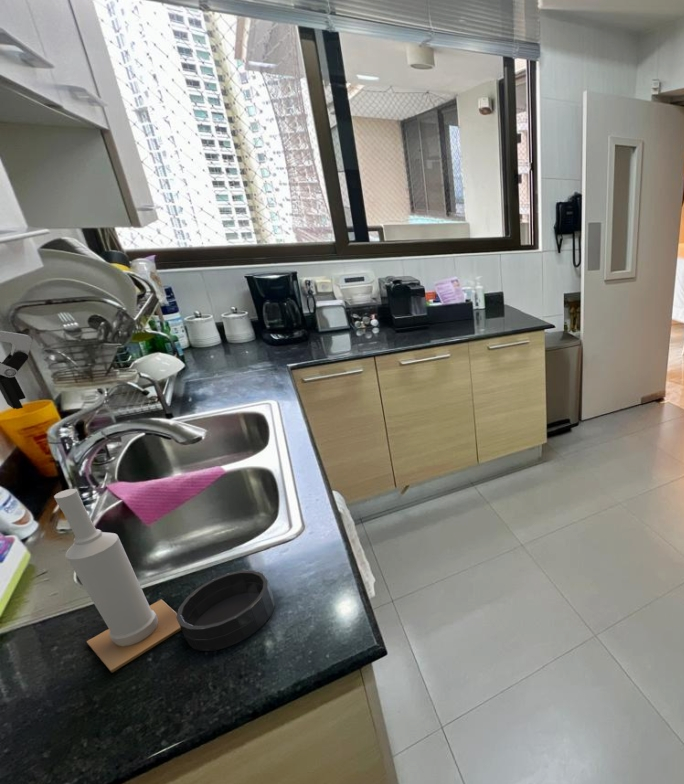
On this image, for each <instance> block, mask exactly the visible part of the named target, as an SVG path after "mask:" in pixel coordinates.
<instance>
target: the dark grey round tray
mask: <svg viewBox="0 0 684 784" xmlns="http://www.w3.org/2000/svg"><path fill="white" fill-rule="evenodd" d="M275 605H276V604H275V596H274V594H273V590H272V588H271V586H270V582H269V579H268V578H267V577H266V575H265V573H263V572H260V571H257V570H254V569H252V570H249V569H248V570H247V569H242V570H237V571H232V572H228V573H225V574H223V575H220V576H217V577H215V578H213V579H210V580H209V581H207V582H205V583H204V584H201V586H199V587H197V588H196V589H195V590H194V591H193V592H191V593H190V594H189V595H187V597H186V598H185V599H184V600H183V601H182V603H181V604H180V605H179V607H178V610H177V612H176V613H177V616H176V618H177V621H178V623H179V625H180V627H181V629H182V630H181V631H182V634H183V636H184V638H185V640H186V642H187V645H188V646H189V647H191V649H193V650H196V651H199V652H213V651H218V650H224V649H226V648H229V647H232V646H235V645H236V644H238V643H240V642H242V641H245V640H246V639H248V638H249V637H251V636H253V634H255V633H257V632H258V630H260V629H261V628H262V627H263V626H264V625H265V624H266V623H267V622H268V620H269V619H270V617H272V614H273V612H274V609H275Z"/></svg>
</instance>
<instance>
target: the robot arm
mask: <svg viewBox="0 0 684 784" xmlns="http://www.w3.org/2000/svg"><path fill="white" fill-rule="evenodd" d="M0 343H7V344H11V351H10V352H9V353H8V354H7V356H6V357H5V359H3V361H0V393H1V395H2V397H3V398H4V401H5V402H6V405H8V407H10V408H12V409H13V410H15V409H16V410H20V409H23V408H24V407H23V404H22V402H21V401H20V400H25V399H27V397H26V395H25V393H24V390H23V389H22V387H21V385H20V383H19V382H18V378H17V377H16V376H17V375H18V373H19V370H20V369H21V368H22V367H23V366H24V364H25V363H26V362H27V361H28V360H29V353H30V352H31V347H32V344H33V338H32V337H31V336H29V335H27V334H24V333H17V332H11V331H6V330H0Z"/></svg>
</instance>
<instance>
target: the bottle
mask: <svg viewBox="0 0 684 784" xmlns="http://www.w3.org/2000/svg"><path fill="white" fill-rule="evenodd" d="M53 498H54V500H55V501H56V503H57V505H58V507H59V509H60V511H61V512H62V513H63V516H64V517H65V520H66V521H67V523H68V525H69V527H70V529H71V531H72V533H73V534H74V536H75V537H74V538H73V540H72V541H73V543H72V544H71V546H70V547H69V548H68V549H67V551H66V552H65V554H64V556H65V558H66V559H67V561H68V562H69V564H70V566H71V568H72V569H73V571H74V573H75V575H76V577H77V578H78V579H79V581H80V583H81V584H82V586H83V588H84V590H85V591H86V593H87V595H88V596H89V597H90V600H91V601H92V603H93V604H94V607H95V608H96V610H97V611H98V613H99V614H100V617H101V618H102V620H103V621H104V623H105V625H106V626H107V628H108V629H109V630H110V633H109V635H110V637H111V639H112V640H113V642H114V643H115V644H117V645H119V646H129V645H132V644H135V643H138V642H140V641H142V640H143V639H145V638H147V637H148V636H149V635H150V634H152V633H153V632H154V630H155V629H156V628H157V624H158V618H157V615H156V613H155V612H154V611H153V610H151V609H150V604H149V602H148V600H147V597H146V595H145V593H144V591H143V588H142V586H141V584H140V581H139V580H138V577H137V574H136V573H135V571H134V569H133V566H132V564H131V562H130V560H129V557H128V555H127V553H126V550H125V548H124V545H123V544H122V541H121V539H120V537H119V535H118V534H117V533H114V532H105V531H102V530H101V529H98V528H96V527H95V524H94V523H93V521H92V518H91V517H90V514H89V513H88V511H87V509H86V507H85V505H84V503H83V500H82V498H81V496H80V494H79V492H78V490H77V488H69V489H65V490H61V491H59V492H58V493H57V492H56V494H55V495H53Z"/></svg>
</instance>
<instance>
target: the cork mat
mask: <svg viewBox="0 0 684 784" xmlns="http://www.w3.org/2000/svg"><path fill="white" fill-rule="evenodd" d="M149 606H150V609H151V610H153V611H154V612H155V613H156V615H157V618H158V624H157V628H156V629H155V630H154V632H153V633H152V634H150V635H149V636H148V637H147V638H145V639H143V640H142V641H140V642H138V643H135V644H132V645H129V646H119V645H117V644H115V643H114V642H113V640H112V639H111V637H110V635H109V633H110V630H109V628H108V629H105V630H104V631H102V632H101V633H98V634H97V635H95V636H94V637H91V638H90V639H88V640H86V644H87V645H88V646H89V647H90V649H91V650H92V651H93V652H94V654H95V655H96V656H97V657H98V658H99V660H100V661H101V662H102V663H103V664H104V666H105V667H106V668H107V670H109V671H110V673H114V672H116V671H118V670H119V669H121V668H122V667H125V666H126V665H127V664H130V662H132V661H134V660H136V659H137V658H138V657H140V656H142V655H143V654H145V653H146V652H148V651H150V650H152V649H153V648H154V647H156V646H158V645H159V644H161V643H163V642H164V641H166V640H167V639H170V638H171V637H173V635H176V633H178V632H180V631H182V629H181V627H180V625H179V623H178V621H177V618H176V616H177V613H178V612H177V611H175V610H174V609H173V608H172V607H171V606H169V605H168V604H167V603H166V602H165V601H164V600H163V599H159V600H157V601H156V602H154V603H152V604H149Z"/></svg>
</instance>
